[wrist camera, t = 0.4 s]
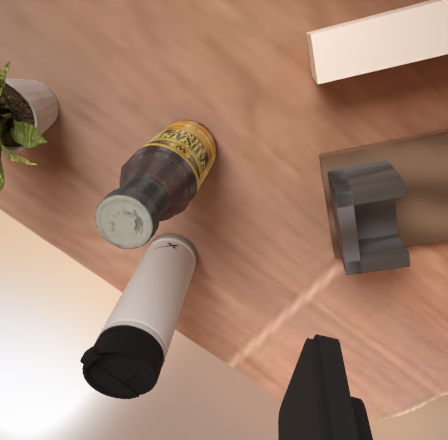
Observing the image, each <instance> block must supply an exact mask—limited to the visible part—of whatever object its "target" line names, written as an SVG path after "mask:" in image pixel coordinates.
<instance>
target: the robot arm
mask: <svg viewBox="0 0 448 440" xmlns="http://www.w3.org/2000/svg"><path fill="white" fill-rule="evenodd" d="M278 425H279V426H278V427H279V440H373V438H372V434H371V430H370V426H369V421H368V417H367V413H366V409H365V406H364V403H363V401H362V400H361V399H358V398H354V397H351V396H350V391H349V386H348V381H347V376H346V372H345V367H344V362H343V357H342V352H341V347H340V343H339V340H338V339H334V338H330V337H326V336H321V335H315V336H314V338H313V339H309V338H307V339H306V341H305V344H304V346H303V349H302V352H301V354H300V357H299V360H298V362H297V365H296V367H295V370H294V373H293V375H292V378H291V381H290V383H289V386H288V388H287V391H286V394H285V396H284V399H283V402H282V405H281V407H280V411H279V421H278Z"/></svg>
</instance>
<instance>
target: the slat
mask: <svg viewBox="0 0 448 440" xmlns="http://www.w3.org/2000/svg"><path fill="white" fill-rule="evenodd" d="M306 36H307V43H308V50H309V57H310V64H311V71H312V77H313V78H314V79H315V81H316V82H317V84H322V83H326V82H331V81H335V80H339V79H343V78H348V77H352V76H356V75H361V74H365V73H369V72H373V71H378V70H382V69H386V68H391V67H395V66H399V65H403V64H408V63H412V62H416V61H421V60H425V59H429V58H433V57H438V56H442V55H446V54H448V0H430V1H426V2H422V3H418V4H414V5H410V6H407V7H403V8H399V9H395V10H391V11H387V12H384V13H380V14H376V15H372V16H368V17H364V18H360V19H357V20H353V21H349V22H345V23H341V24H337V25H334V26H330V27H326V28H322V29H318V30H314V31H311V32H307V33H306Z"/></svg>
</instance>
